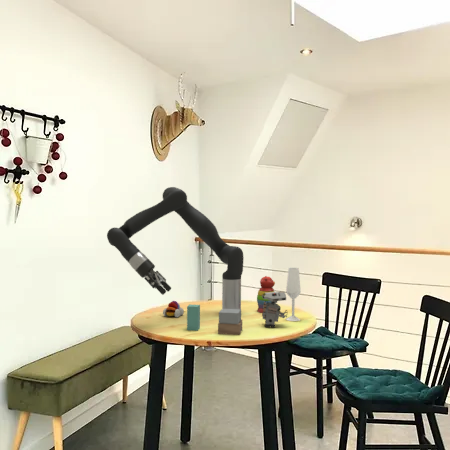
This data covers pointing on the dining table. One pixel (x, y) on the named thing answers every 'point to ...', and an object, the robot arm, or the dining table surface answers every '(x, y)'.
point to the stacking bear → (264, 291)
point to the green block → (193, 317)
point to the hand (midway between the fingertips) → (167, 291)
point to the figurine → (273, 308)
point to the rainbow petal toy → (173, 310)
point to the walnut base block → (230, 328)
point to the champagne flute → (293, 289)
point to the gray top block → (230, 316)
